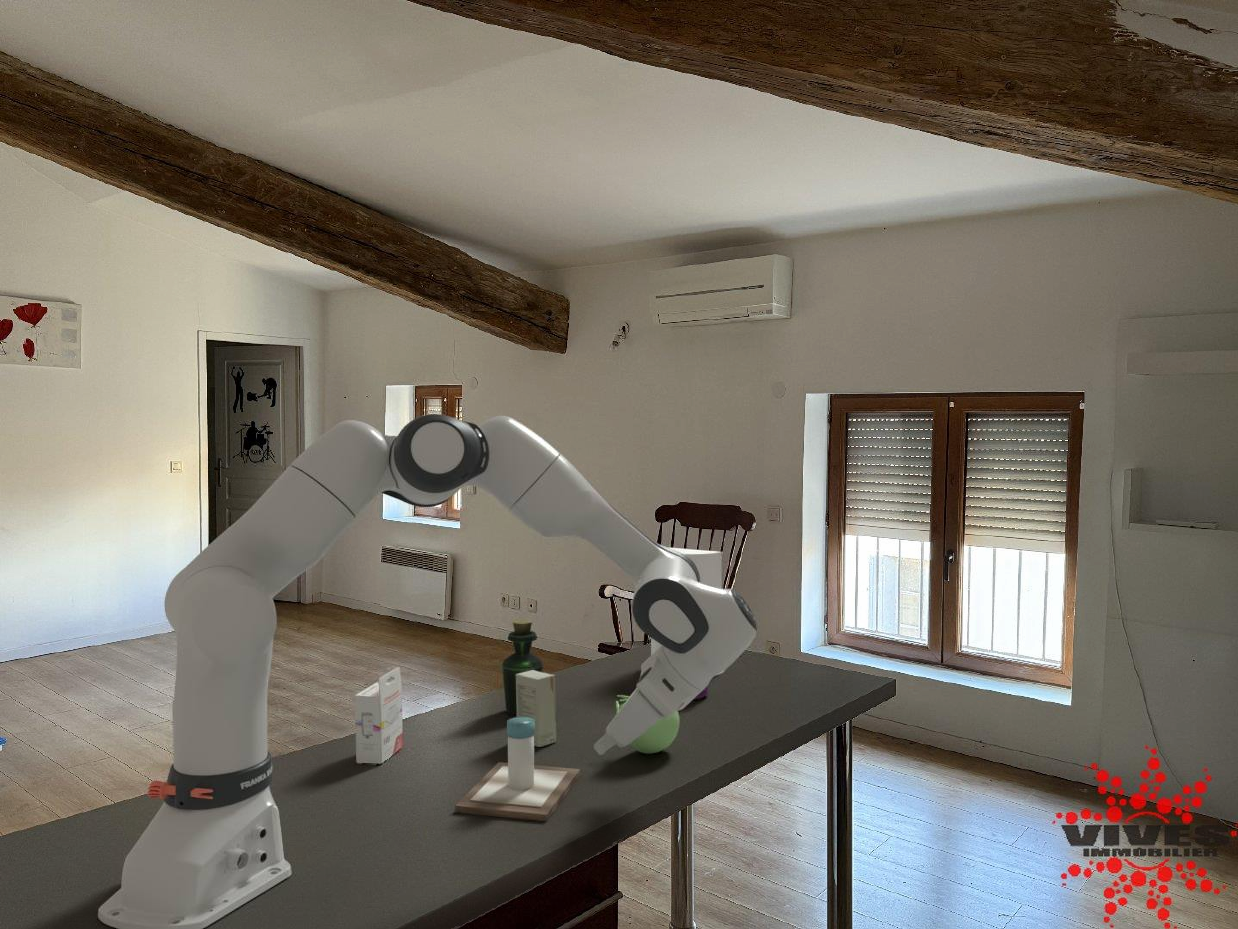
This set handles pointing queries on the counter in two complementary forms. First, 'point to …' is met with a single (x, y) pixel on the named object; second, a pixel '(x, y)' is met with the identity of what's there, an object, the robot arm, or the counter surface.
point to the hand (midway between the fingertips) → (605, 739)
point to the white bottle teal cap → (520, 753)
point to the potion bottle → (519, 661)
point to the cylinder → (702, 574)
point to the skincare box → (538, 704)
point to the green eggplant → (655, 733)
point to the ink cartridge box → (379, 719)
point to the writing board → (519, 794)
